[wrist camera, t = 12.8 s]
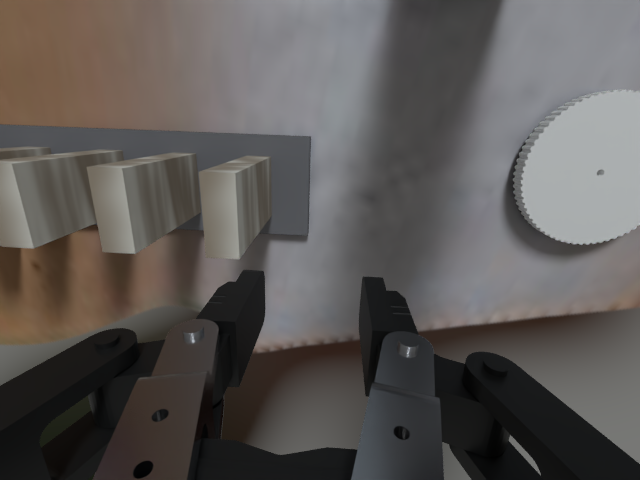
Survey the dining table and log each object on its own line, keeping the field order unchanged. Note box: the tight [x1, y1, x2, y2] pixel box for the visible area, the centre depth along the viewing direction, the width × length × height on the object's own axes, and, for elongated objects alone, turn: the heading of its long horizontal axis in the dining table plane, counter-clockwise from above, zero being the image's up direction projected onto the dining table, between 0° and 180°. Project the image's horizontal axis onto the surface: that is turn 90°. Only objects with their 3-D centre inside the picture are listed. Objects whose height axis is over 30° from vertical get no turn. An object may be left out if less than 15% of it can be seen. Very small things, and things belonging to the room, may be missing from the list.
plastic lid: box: [513, 90, 640, 245], centre depth 32 cm, size 14×14×2 cm
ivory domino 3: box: [199, 156, 272, 259], centre depth 28 cm, size 2×6×12 cm, turn 178°
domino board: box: [0, 125, 311, 236], centre depth 35 cm, size 48×10×1 cm, turn 88°
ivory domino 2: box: [87, 153, 201, 254], centre depth 29 cm, size 2×6×12 cm, turn 178°
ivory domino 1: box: [0, 150, 124, 248], centre depth 29 cm, size 2×6×12 cm, turn 178°
